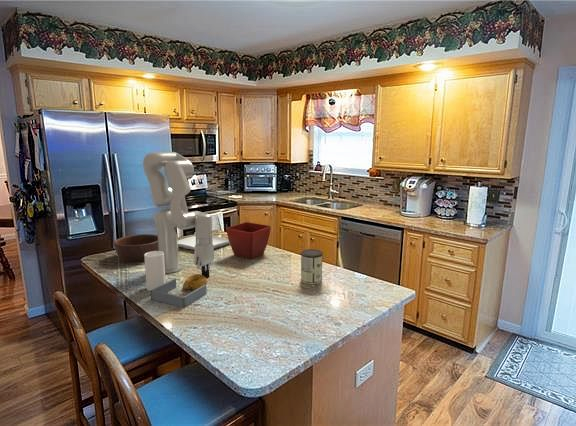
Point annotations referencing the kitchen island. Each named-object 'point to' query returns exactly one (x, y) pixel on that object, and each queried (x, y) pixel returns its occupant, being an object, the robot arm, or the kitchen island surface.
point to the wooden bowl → (135, 247)
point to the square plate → (191, 242)
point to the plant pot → (248, 239)
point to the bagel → (195, 282)
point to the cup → (154, 269)
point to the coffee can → (311, 266)
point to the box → (162, 296)
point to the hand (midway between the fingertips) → (205, 277)
